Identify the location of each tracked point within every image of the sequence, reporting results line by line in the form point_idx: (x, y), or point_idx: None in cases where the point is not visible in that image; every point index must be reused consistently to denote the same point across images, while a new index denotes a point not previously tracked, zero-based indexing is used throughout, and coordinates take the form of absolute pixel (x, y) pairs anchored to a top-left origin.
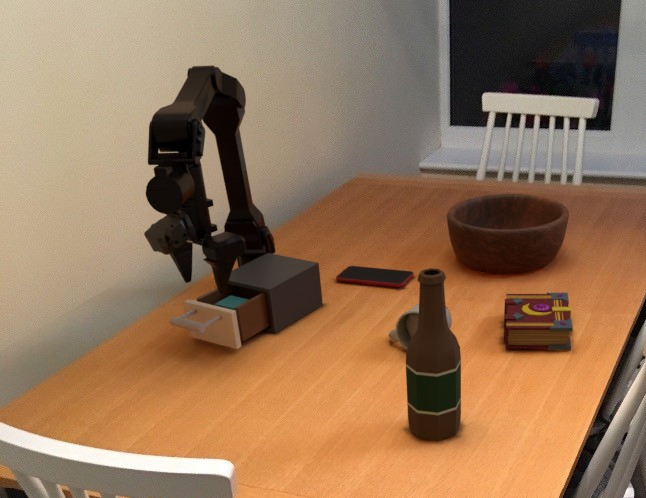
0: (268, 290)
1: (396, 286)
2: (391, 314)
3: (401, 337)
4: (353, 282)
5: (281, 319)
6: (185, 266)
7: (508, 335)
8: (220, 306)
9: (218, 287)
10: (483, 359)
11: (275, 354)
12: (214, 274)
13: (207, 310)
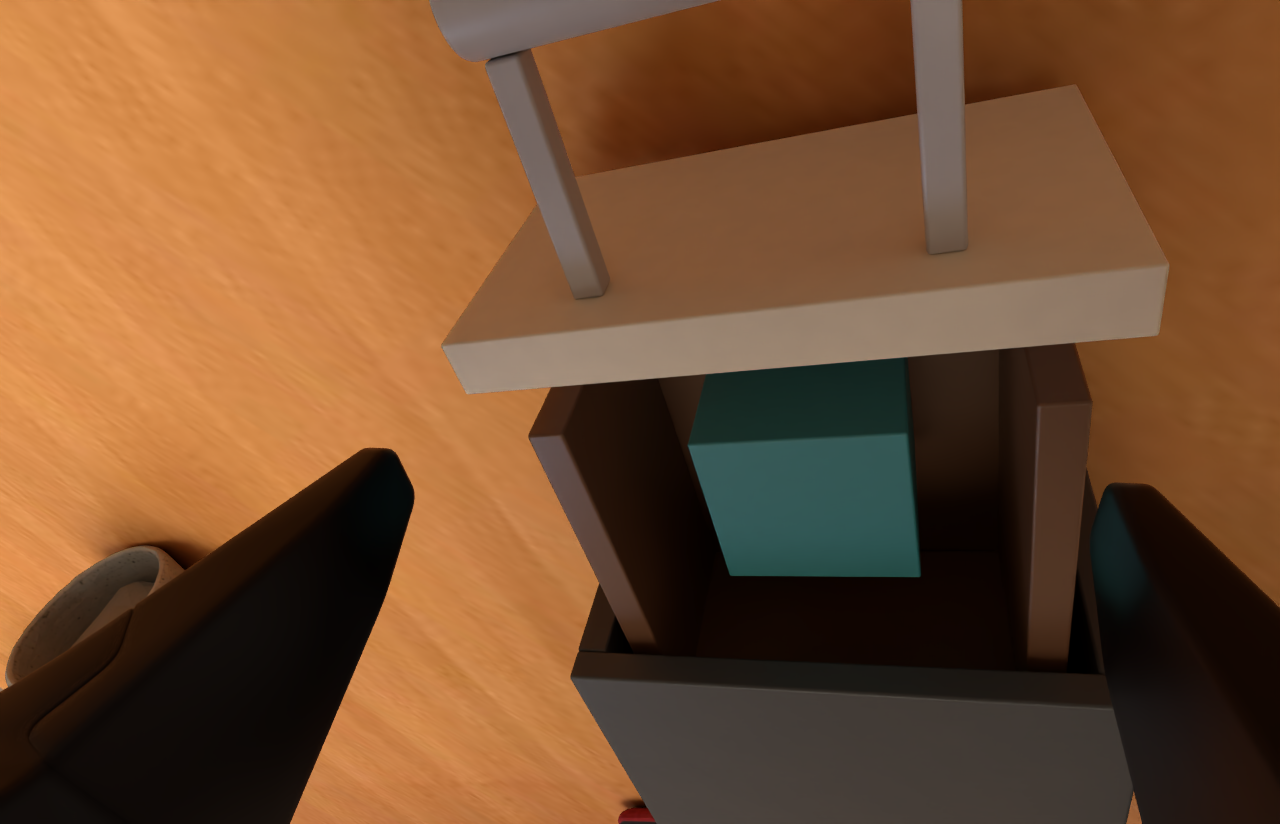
0: (577, 668)
1: (633, 810)
2: (473, 693)
3: None
4: None
5: None
6: (1186, 753)
7: None
8: (832, 429)
9: (304, 499)
10: (43, 586)
11: (415, 292)
12: (148, 648)
13: (748, 289)
